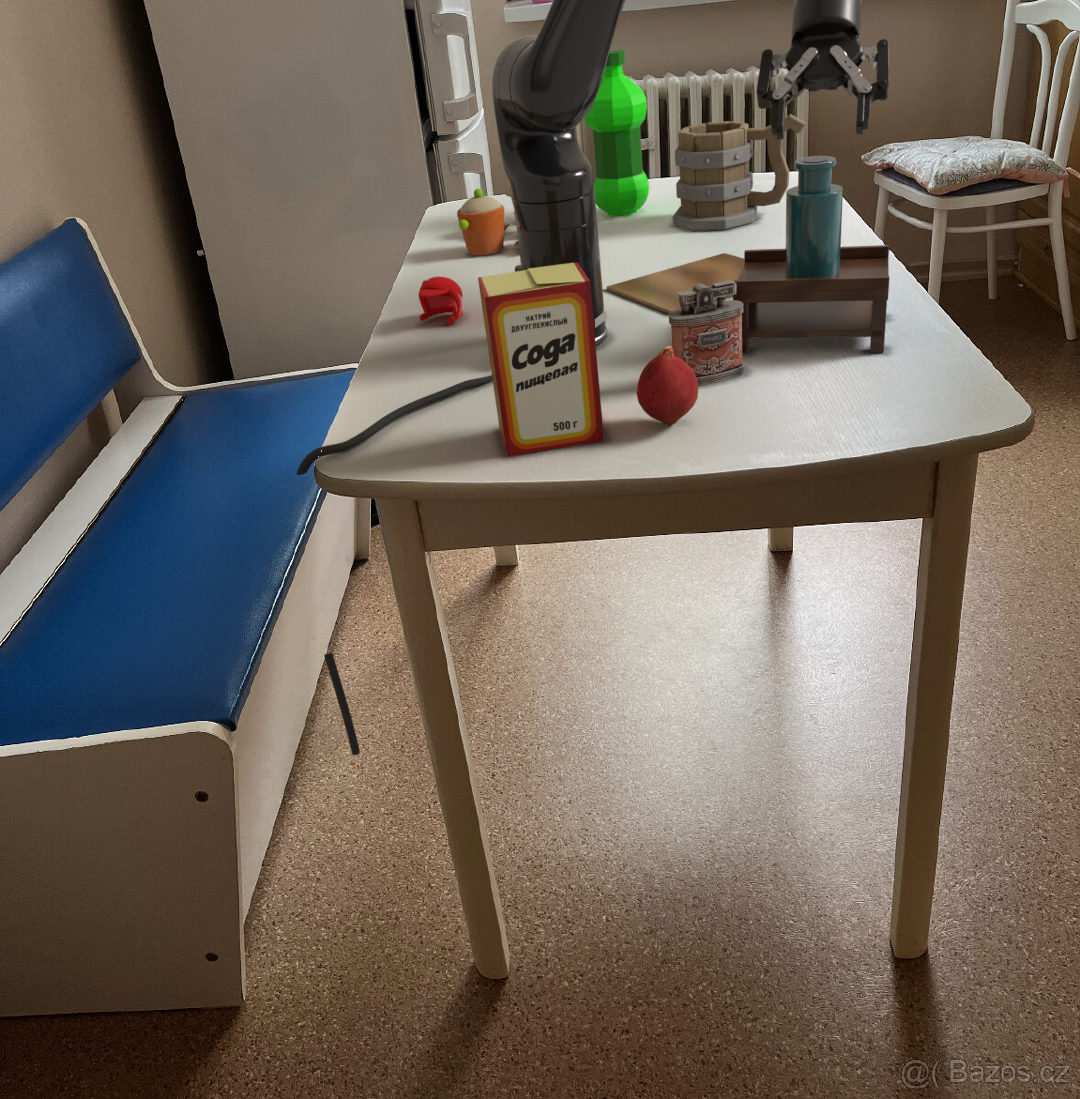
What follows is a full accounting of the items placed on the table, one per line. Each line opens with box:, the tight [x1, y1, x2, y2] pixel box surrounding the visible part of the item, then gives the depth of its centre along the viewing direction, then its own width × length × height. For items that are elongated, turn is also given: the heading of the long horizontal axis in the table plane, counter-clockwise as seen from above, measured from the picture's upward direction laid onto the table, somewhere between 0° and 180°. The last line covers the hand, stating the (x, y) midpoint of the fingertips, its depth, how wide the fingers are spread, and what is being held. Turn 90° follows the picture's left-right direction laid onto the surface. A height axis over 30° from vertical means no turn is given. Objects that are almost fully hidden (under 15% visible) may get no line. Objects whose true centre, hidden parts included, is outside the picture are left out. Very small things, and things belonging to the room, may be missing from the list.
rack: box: [732, 244, 890, 354], centre depth 115 cm, size 16×12×8 cm
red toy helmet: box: [417, 276, 464, 326], centre depth 135 cm, size 8×6×6 cm
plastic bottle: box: [584, 49, 650, 218], centre depth 169 cm, size 10×10×25 cm
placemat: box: [606, 252, 745, 315], centre depth 138 cm, size 20×15×1 cm
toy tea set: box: [456, 186, 519, 256], centre depth 168 cm, size 26×16×10 cm, turn 2°
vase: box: [785, 155, 844, 278], centre depth 111 cm, size 6×6×12 cm
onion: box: [636, 345, 699, 426], centre depth 99 cm, size 6×6×8 cm
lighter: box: [668, 280, 745, 387], centre depth 107 cm, size 8×3×10 cm, turn 106°
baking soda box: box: [477, 262, 605, 458], centre depth 98 cm, size 10×6×16 cm
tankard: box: [672, 113, 806, 232], centre depth 160 cm, size 20×13×15 cm, turn 73°
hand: (819, 133), depth 114 cm, fingers open, 8 cm apart
